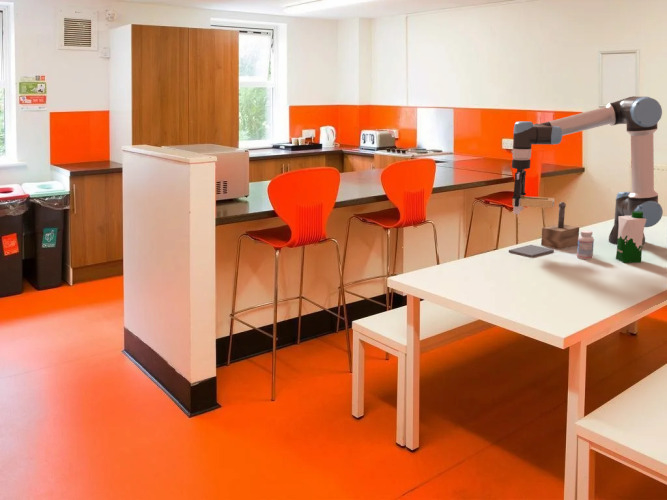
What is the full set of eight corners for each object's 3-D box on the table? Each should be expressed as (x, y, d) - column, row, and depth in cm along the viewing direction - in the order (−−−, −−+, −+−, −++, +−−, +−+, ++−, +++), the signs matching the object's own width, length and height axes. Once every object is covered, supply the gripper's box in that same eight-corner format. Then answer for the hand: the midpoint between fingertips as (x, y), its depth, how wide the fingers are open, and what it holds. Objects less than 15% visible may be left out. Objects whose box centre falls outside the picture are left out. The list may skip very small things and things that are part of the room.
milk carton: (644, 263, 268) (649, 214, 263) (622, 263, 268) (627, 214, 263) (633, 257, 277) (637, 210, 272) (612, 258, 276) (616, 210, 271)
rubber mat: (553, 251, 288) (553, 249, 288) (531, 257, 280) (531, 255, 279) (530, 246, 298) (530, 244, 297) (508, 252, 289) (508, 250, 289)
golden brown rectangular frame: (551, 208, 277) (552, 201, 276) (512, 205, 283) (512, 198, 283) (553, 205, 284) (554, 198, 283) (515, 202, 290) (515, 195, 290)
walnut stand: (578, 244, 300) (581, 201, 295) (560, 249, 292) (563, 205, 288) (559, 240, 308) (561, 198, 303) (541, 245, 300) (543, 202, 296)
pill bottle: (580, 255, 282) (582, 229, 280) (594, 257, 278) (597, 231, 275) (574, 257, 278) (576, 231, 275) (588, 260, 274) (590, 233, 271)
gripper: (516, 156, 292) (513, 207, 298) (508, 161, 274) (504, 215, 279) (534, 156, 289) (530, 208, 295) (526, 161, 271) (523, 217, 276)
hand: (518, 212), depth 287 cm, fingers closed on golden brown rectangular frame, 8 cm apart
